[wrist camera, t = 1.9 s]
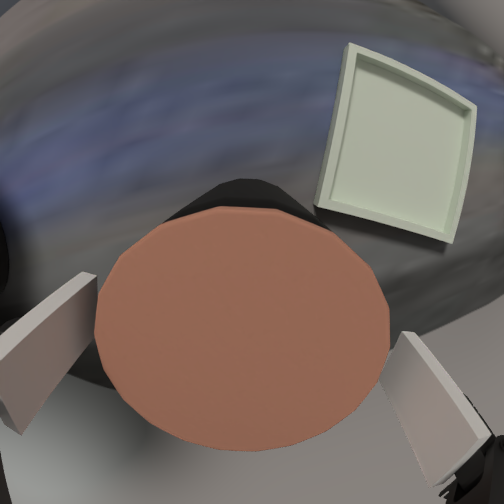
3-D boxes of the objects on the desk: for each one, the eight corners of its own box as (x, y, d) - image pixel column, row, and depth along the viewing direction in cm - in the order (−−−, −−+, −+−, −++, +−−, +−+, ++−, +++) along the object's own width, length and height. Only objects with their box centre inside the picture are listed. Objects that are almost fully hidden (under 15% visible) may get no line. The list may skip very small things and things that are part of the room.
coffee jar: (289, 299, 28) (328, 457, 11) (181, 278, 27) (106, 422, 10) (317, 192, 25) (437, 251, 8) (199, 167, 24) (95, 177, 7)
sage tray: (313, 203, 25) (317, 206, 24) (343, 49, 21) (349, 42, 19) (443, 239, 26) (452, 243, 25) (467, 107, 22) (476, 106, 20)
